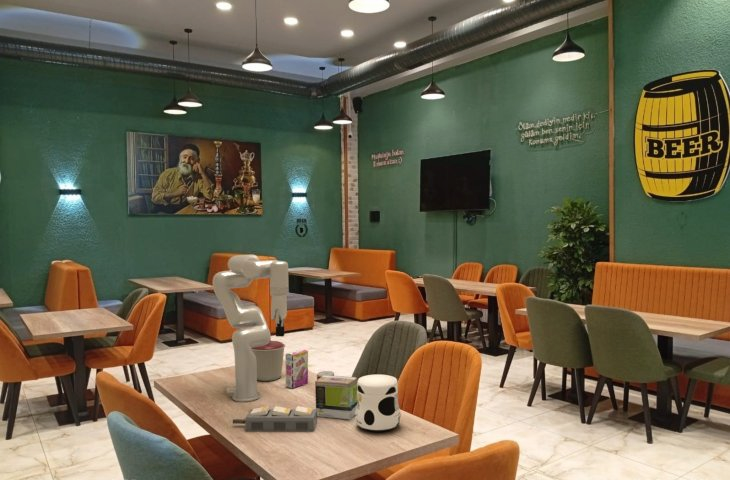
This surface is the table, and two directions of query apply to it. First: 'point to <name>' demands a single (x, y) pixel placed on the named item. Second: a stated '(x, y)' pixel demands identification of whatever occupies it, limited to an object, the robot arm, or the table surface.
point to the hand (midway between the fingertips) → (280, 335)
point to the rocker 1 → (260, 411)
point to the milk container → (377, 403)
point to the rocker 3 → (303, 411)
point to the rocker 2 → (281, 411)
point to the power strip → (279, 422)
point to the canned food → (324, 374)
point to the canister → (269, 360)
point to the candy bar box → (296, 368)
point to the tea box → (336, 396)
